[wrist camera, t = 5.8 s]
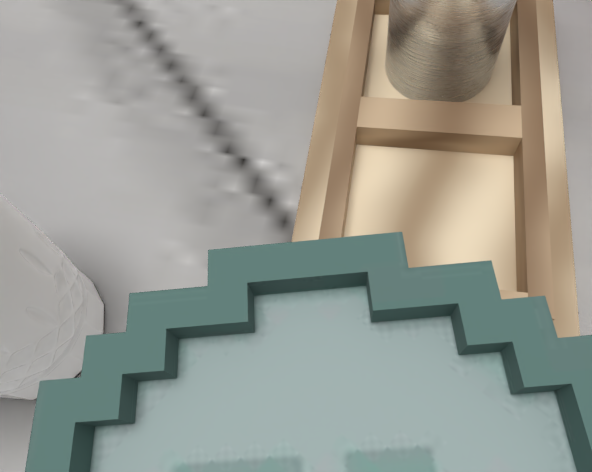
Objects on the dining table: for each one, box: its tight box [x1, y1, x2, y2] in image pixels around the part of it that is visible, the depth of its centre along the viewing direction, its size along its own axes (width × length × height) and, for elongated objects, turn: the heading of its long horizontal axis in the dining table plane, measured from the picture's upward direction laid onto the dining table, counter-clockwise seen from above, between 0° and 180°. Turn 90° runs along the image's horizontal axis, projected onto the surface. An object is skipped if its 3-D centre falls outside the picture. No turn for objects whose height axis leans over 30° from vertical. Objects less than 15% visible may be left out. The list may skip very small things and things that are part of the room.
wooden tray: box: [292, 0, 580, 338], centre depth 26 cm, size 13×22×3 cm, turn 170°
